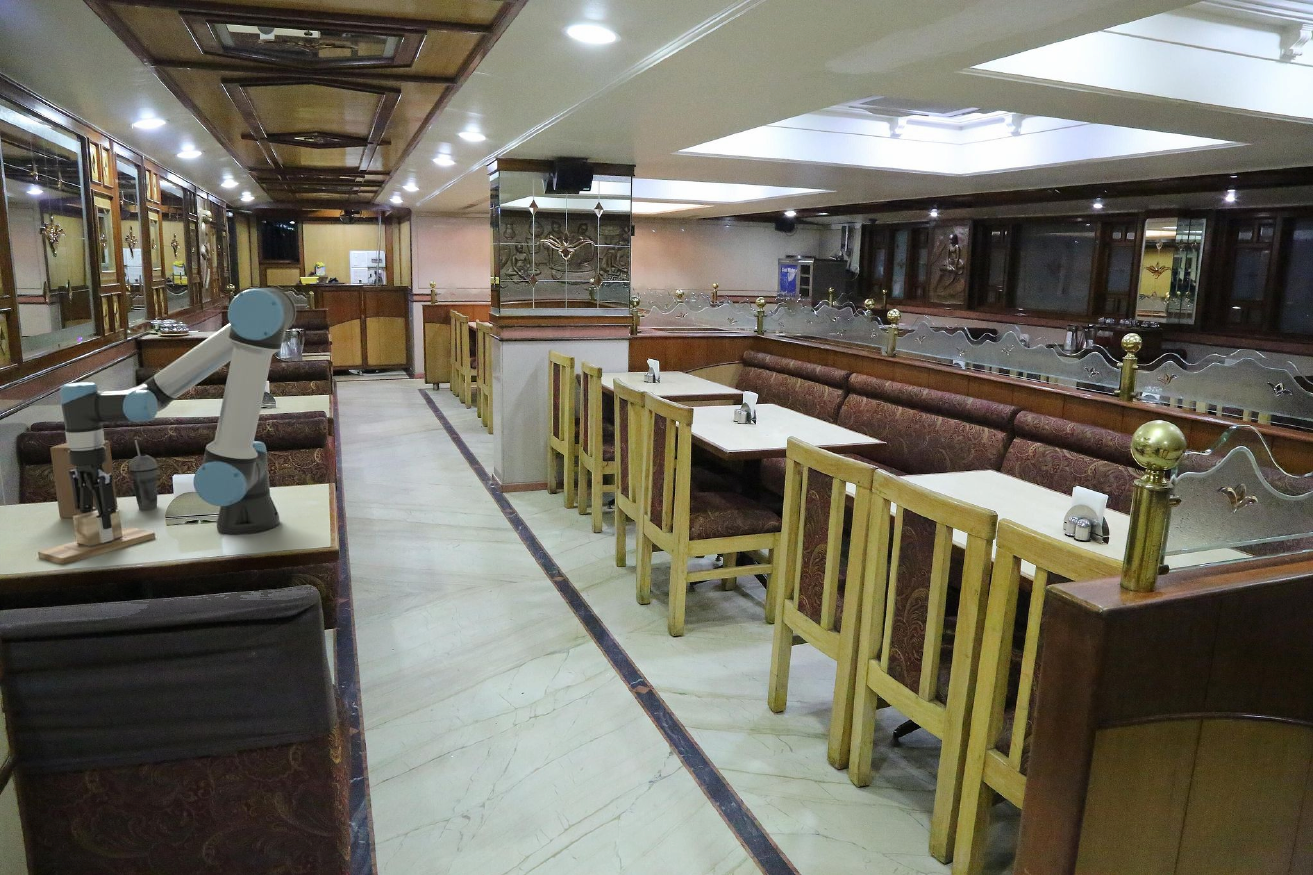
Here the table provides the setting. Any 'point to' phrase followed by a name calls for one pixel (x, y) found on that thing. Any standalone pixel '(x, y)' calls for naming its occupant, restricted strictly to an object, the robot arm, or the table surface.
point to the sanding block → (94, 528)
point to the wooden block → (64, 480)
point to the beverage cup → (144, 480)
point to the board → (94, 547)
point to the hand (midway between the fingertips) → (99, 539)
